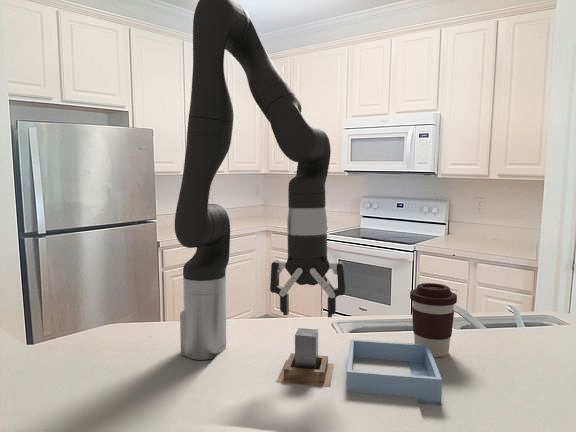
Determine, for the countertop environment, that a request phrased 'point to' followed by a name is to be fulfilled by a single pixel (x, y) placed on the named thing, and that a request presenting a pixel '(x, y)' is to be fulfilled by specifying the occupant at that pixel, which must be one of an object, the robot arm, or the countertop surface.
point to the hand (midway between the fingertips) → (308, 315)
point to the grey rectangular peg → (306, 348)
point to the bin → (418, 384)
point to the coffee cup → (433, 316)
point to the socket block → (307, 373)
